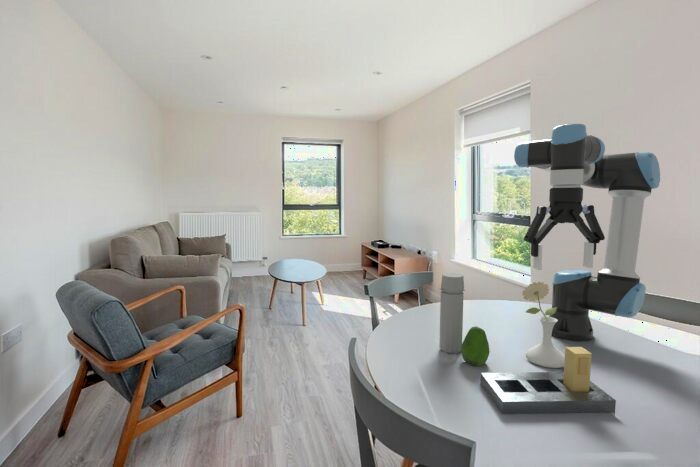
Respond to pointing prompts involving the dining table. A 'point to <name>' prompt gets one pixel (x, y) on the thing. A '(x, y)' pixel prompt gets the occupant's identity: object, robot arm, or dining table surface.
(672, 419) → the dining table surface
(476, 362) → the avocado
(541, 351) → the flower in vase
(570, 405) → the jack panel
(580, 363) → the yellow tall block
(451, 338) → the water bottle
